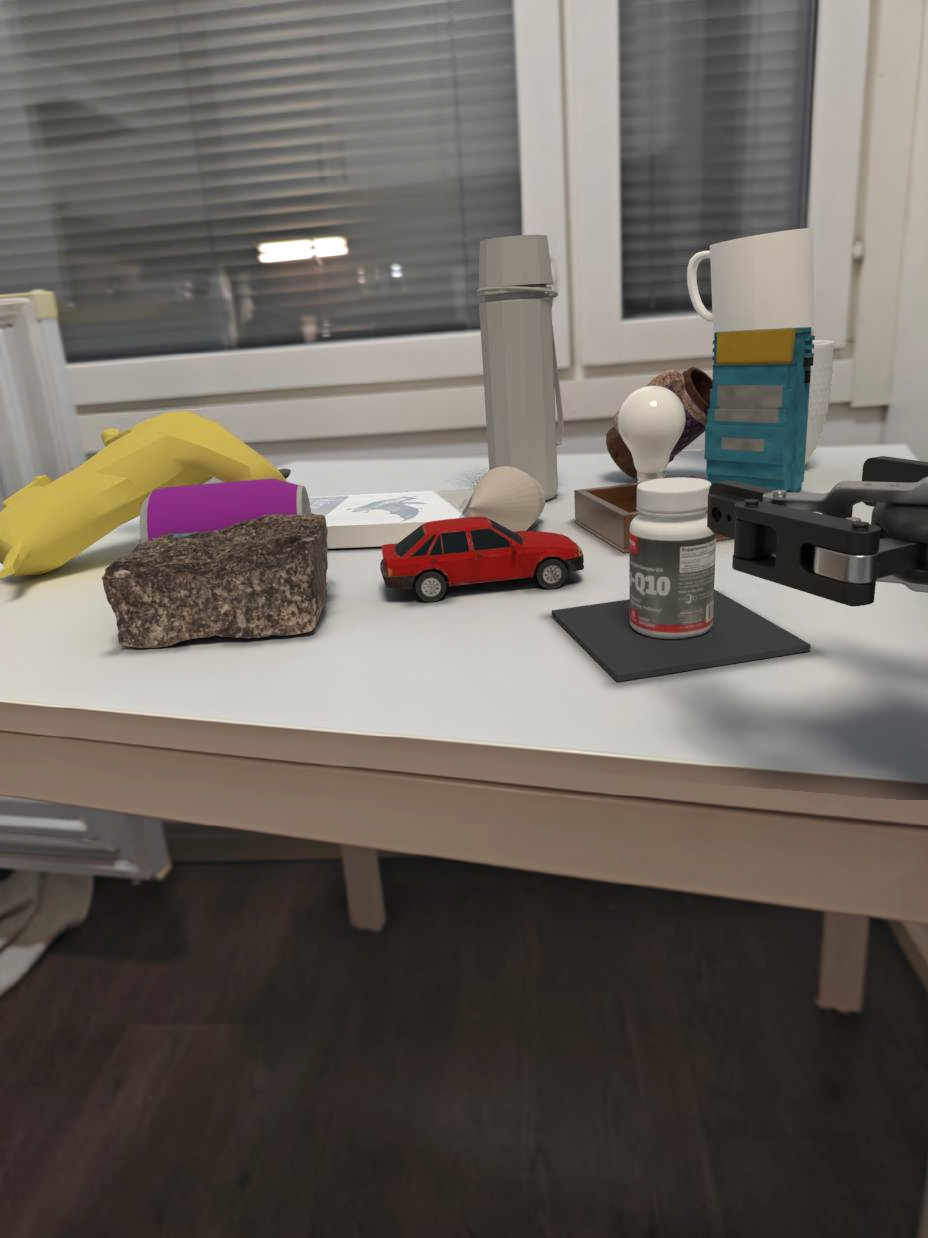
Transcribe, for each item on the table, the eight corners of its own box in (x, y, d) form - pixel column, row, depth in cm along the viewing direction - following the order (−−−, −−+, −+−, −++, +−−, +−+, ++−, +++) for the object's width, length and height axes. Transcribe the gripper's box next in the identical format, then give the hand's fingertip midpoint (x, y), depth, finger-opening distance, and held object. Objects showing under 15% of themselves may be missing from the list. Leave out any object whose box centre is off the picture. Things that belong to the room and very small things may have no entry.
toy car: (591, 586, 59) (589, 515, 57) (385, 608, 57) (377, 537, 56) (568, 562, 65) (566, 498, 63) (381, 582, 63) (374, 517, 62)
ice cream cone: (463, 450, 64) (523, 451, 78) (418, 512, 67) (484, 503, 80) (522, 502, 63) (572, 494, 77) (475, 563, 66) (532, 544, 79)
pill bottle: (613, 624, 50) (611, 484, 47) (675, 607, 52) (677, 472, 49) (665, 647, 46) (667, 496, 43) (731, 628, 48) (736, 482, 45)
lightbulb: (613, 507, 81) (611, 390, 78) (623, 494, 87) (622, 384, 83) (681, 507, 79) (682, 387, 75) (687, 494, 85) (689, 380, 81)
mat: (711, 593, 55) (711, 587, 55) (810, 651, 45) (811, 644, 45) (551, 616, 53) (551, 610, 53) (617, 682, 43) (617, 675, 43)
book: (208, 553, 75) (204, 531, 74) (261, 517, 88) (258, 499, 87) (463, 543, 72) (461, 520, 71) (480, 507, 85) (479, 488, 84)
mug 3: (706, 456, 103) (709, 344, 99) (799, 451, 102) (806, 337, 98) (732, 478, 89) (736, 349, 85) (840, 472, 88) (850, 341, 84)
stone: (321, 636, 53) (306, 545, 51) (110, 656, 53) (87, 565, 51) (339, 583, 63) (328, 505, 61) (163, 599, 63) (146, 522, 61)
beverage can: (165, 605, 67) (316, 592, 67) (131, 550, 60) (299, 535, 61) (172, 528, 71) (315, 515, 71) (141, 467, 64) (299, 454, 65)
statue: (20, 661, 76) (121, 673, 62) (-81, 542, 70) (5, 527, 56) (228, 502, 91) (345, 484, 78) (159, 394, 86) (273, 353, 72)
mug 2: (818, 333, 91) (818, 230, 88) (808, 339, 83) (807, 225, 80) (700, 347, 97) (696, 251, 94) (680, 354, 89) (674, 249, 85)
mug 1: (638, 439, 98) (720, 372, 90) (655, 489, 95) (742, 424, 87) (576, 414, 91) (659, 340, 83) (593, 467, 88) (680, 395, 80)
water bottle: (522, 509, 83) (508, 233, 75) (474, 500, 89) (457, 244, 81) (589, 493, 88) (583, 233, 80) (539, 485, 94) (529, 243, 86)
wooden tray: (692, 508, 79) (693, 476, 78) (759, 535, 68) (760, 498, 67) (574, 522, 77) (573, 489, 76) (624, 553, 66) (623, 515, 65)
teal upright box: (808, 489, 82) (819, 326, 77) (788, 497, 79) (797, 329, 74) (718, 481, 89) (723, 330, 84) (697, 488, 86) (700, 333, 81)
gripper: (1395, 414, 24) (921, 390, 39) (1054, 478, 20) (658, 424, 34) (1325, 653, 27) (904, 547, 41) (1008, 760, 22) (657, 599, 37)
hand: (793, 491), depth 38 cm, fingers open, 8 cm apart
